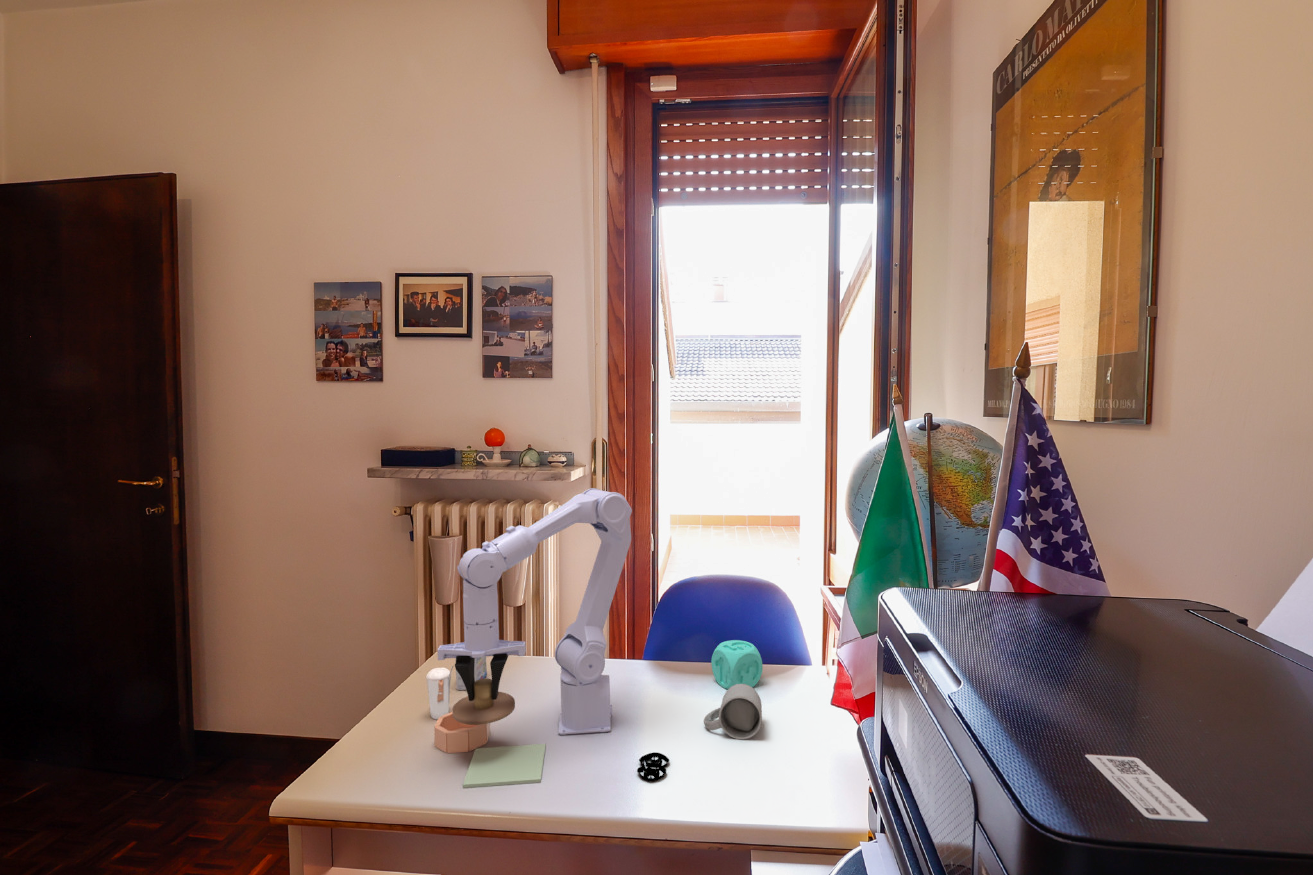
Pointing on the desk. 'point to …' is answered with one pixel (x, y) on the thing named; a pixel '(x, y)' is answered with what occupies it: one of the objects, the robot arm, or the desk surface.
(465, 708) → the walnut lid
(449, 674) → the milkshake
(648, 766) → the black flat openwork piece
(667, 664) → the desk surface
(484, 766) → the green mat
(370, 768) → the desk surface
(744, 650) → the decorative dice
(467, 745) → the terracotta bowl
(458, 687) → the medicine box
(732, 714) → the ceramic mug
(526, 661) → the desk surface
